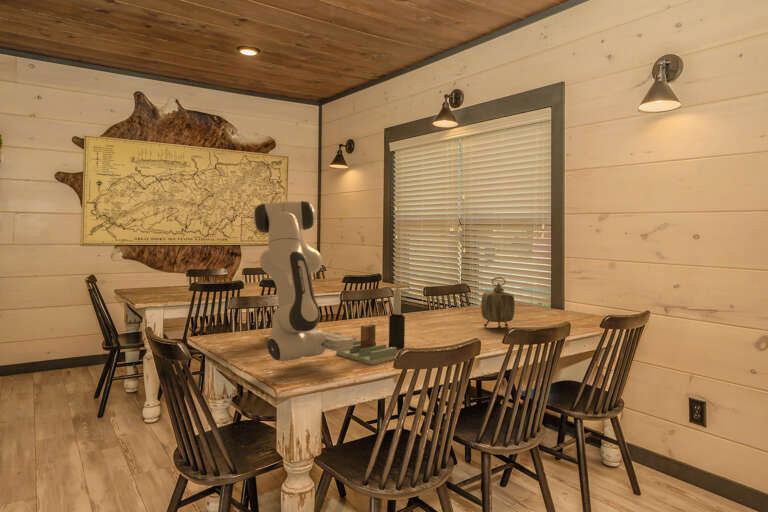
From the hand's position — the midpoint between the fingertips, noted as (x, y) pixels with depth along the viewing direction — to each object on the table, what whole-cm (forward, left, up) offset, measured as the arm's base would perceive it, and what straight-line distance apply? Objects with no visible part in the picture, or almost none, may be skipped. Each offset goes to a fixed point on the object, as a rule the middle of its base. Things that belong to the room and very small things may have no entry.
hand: (346, 336), depth 172 cm
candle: (-17, +23, -9) cm, 30 cm away
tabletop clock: (-48, +82, -9) cm, 95 cm away
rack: (-5, +9, -9) cm, 13 cm away
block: (-5, +9, -7) cm, 12 cm away
